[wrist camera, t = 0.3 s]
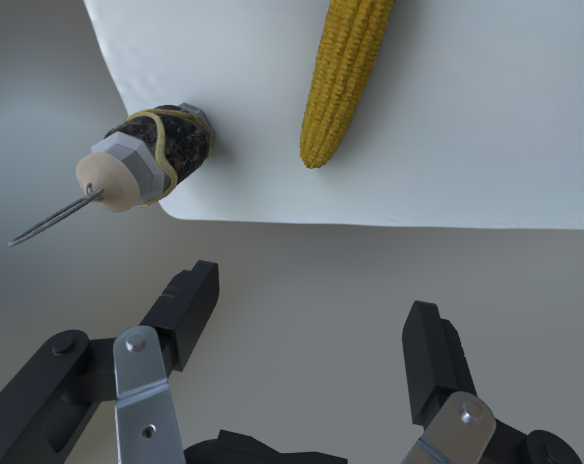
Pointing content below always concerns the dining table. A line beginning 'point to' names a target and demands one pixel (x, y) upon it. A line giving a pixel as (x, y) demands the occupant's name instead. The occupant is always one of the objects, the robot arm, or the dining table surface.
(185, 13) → the dining table surface
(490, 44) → the dining table surface
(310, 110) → the food
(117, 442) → the robot arm
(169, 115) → the lantern
